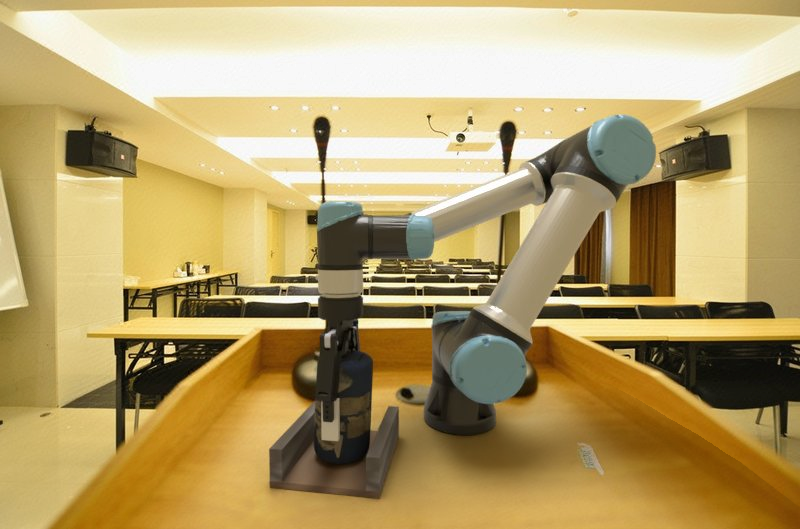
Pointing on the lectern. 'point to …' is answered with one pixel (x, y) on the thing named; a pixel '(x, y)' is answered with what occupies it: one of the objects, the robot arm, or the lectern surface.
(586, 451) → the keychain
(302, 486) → the holder
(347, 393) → the canister
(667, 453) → the lectern surface
